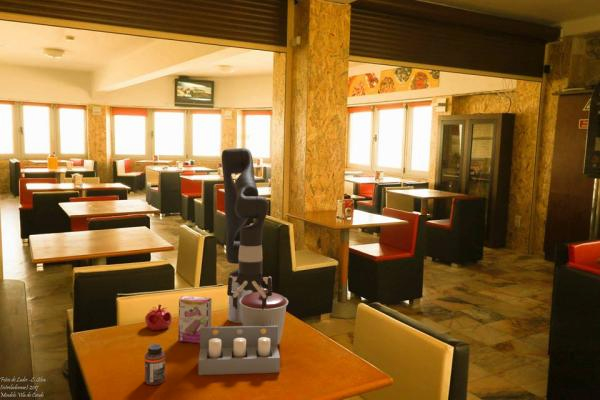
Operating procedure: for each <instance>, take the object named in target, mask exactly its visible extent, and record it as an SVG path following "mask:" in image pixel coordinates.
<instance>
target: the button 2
mask: <svg viewBox="0 0 600 400" xmlns="http://www.w3.org/2000/svg"><path fill="white" fill-rule="evenodd" d="M258 355H259V356H261V357H267V356H269V355H270V338H267V337H261V338H259V339H258Z"/></svg>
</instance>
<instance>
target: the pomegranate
mask: <svg viewBox="0 0 600 400" xmlns="http://www.w3.org/2000/svg"><path fill="white" fill-rule="evenodd" d="M165 309H168V307H163V308H162V304H158V308H157V307H156V306H153V307H152V308H151V309H150V310H149V312H148V313H147V314H146V315H145V317H144V318H145V319H144V320H145V325H146V326H147V328H149V329H150V330H152V331H161V330H166V329H167V328H169V327H170V325H171V324H172V313H171V312H170V311H168V310H165Z"/></svg>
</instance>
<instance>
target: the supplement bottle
mask: <svg viewBox="0 0 600 400" xmlns="http://www.w3.org/2000/svg"><path fill="white" fill-rule="evenodd" d="M165 379H166V353H165V352H164V351H163V348H162V344H159V343H152V344H150V345H148V347H147V352H146V353H145V354H144V382H145V383H146V384H147V385H150V386H157V385H160V384H162V383H163V382H164V381H165Z"/></svg>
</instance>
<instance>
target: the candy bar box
mask: <svg viewBox="0 0 600 400" xmlns="http://www.w3.org/2000/svg"><path fill="white" fill-rule="evenodd" d="M212 300H213V299H212V297H207V296H206V297H204V296H202V297H201V296H193V295H182V296H181V297H180V298H179V299H178V339H177V340H178V342H180V343H181V342H182V343H190V344H192V343H193V344H200V331H201V327H212Z"/></svg>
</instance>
